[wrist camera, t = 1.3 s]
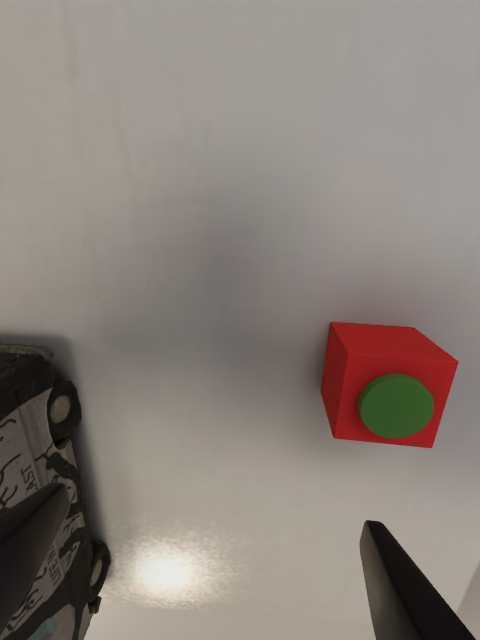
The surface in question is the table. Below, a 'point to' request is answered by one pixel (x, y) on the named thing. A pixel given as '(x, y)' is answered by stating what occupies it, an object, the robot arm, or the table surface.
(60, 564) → the toy car
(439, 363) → the red cube
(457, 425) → the table surface
